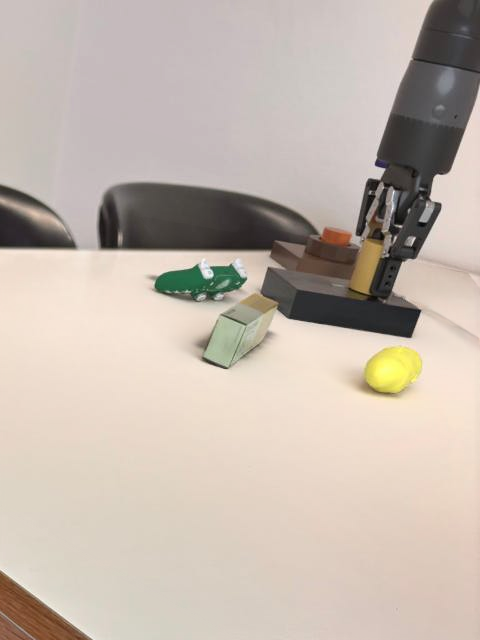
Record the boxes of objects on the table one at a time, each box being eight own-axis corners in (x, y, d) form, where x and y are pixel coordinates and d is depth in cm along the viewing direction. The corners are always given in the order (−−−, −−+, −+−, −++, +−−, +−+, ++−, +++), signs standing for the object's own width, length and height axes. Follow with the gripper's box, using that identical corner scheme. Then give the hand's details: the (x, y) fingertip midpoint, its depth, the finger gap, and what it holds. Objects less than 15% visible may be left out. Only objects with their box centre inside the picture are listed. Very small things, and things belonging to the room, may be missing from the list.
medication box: (229, 371, 90) (247, 325, 88) (199, 358, 90) (217, 313, 88) (263, 342, 99) (280, 300, 97) (236, 331, 100) (253, 289, 98)
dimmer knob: (342, 283, 117) (359, 233, 114) (379, 289, 118) (396, 239, 115) (357, 293, 113) (375, 242, 111) (395, 299, 114) (414, 248, 111)
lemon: (425, 393, 95) (442, 350, 93) (386, 404, 89) (403, 359, 87) (382, 377, 97) (398, 334, 95) (342, 387, 91) (358, 342, 89)
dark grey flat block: (377, 312, 122) (387, 284, 120) (414, 338, 114) (425, 308, 112) (259, 293, 120) (268, 264, 118) (288, 318, 111) (298, 287, 110)
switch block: (352, 271, 143) (363, 240, 141) (382, 290, 135) (393, 258, 133) (269, 257, 141) (278, 225, 139) (293, 275, 133) (304, 242, 131)
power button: (341, 243, 138) (346, 229, 137) (352, 250, 135) (356, 235, 134) (315, 239, 138) (320, 225, 137) (325, 245, 134) (330, 231, 134)
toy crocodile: (161, 313, 111) (203, 285, 106) (149, 279, 111) (190, 249, 106) (217, 311, 116) (259, 284, 112) (206, 278, 117) (247, 250, 112)
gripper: (497, 133, 101) (429, 313, 110) (432, 115, 113) (375, 278, 122) (425, 118, 100) (362, 302, 109) (367, 102, 112) (314, 268, 121)
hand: (369, 288), depth 115 cm, fingers closed on dimmer knob, 4 cm apart
